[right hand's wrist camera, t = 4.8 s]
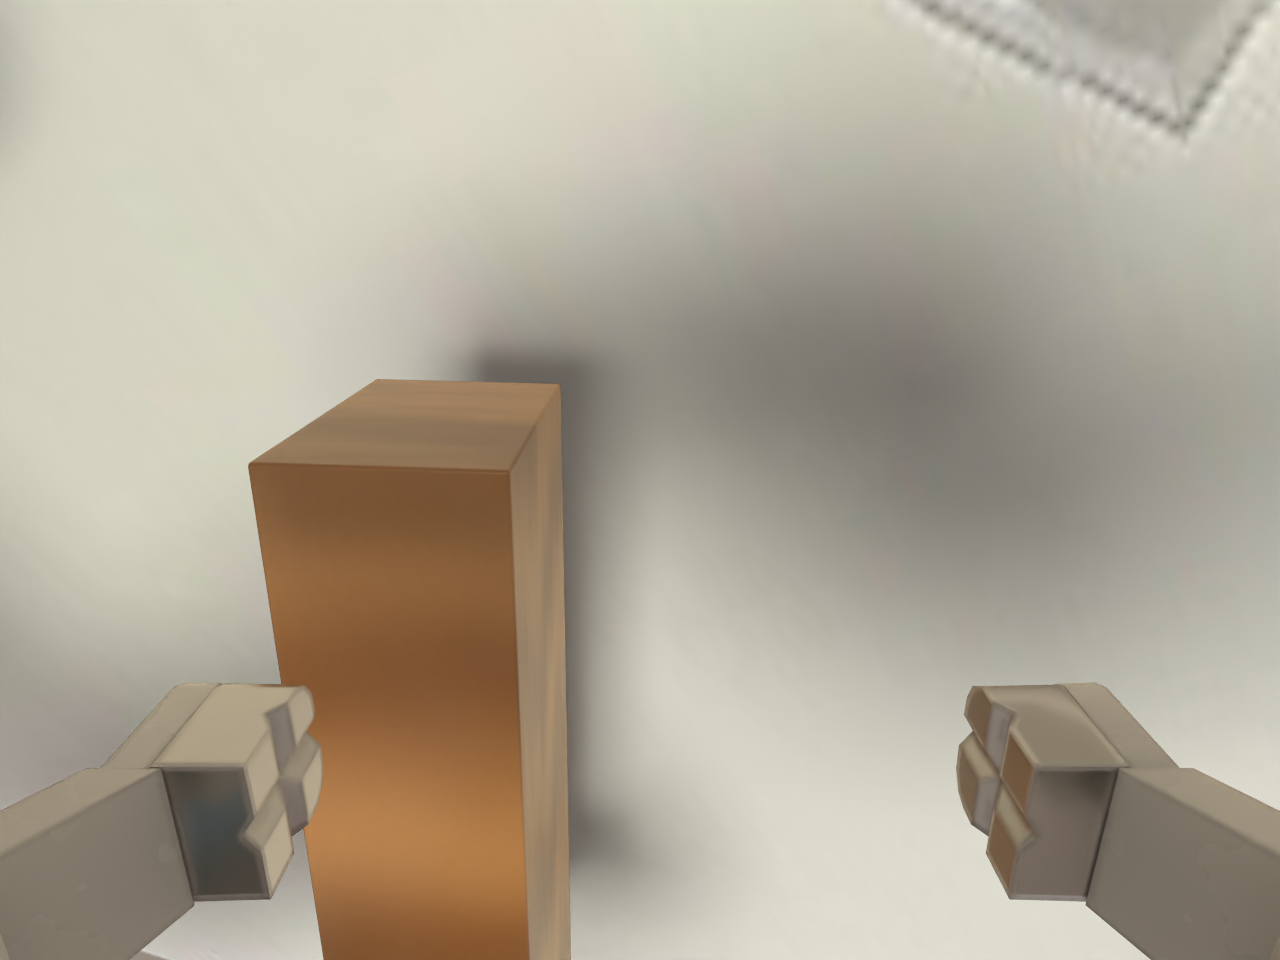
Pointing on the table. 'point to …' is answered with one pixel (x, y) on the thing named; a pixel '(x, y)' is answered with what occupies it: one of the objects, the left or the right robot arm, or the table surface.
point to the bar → (428, 664)
